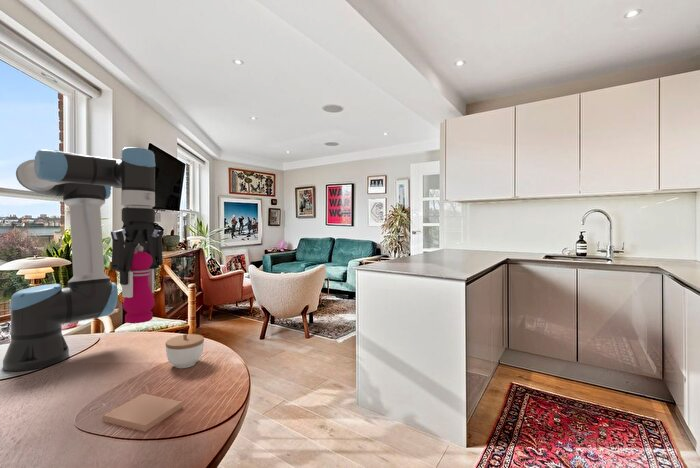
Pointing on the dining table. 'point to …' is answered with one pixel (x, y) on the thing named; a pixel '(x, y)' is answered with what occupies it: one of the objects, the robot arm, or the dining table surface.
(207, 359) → the dining table surface
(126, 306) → the pepper mill
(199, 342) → the lidded jar
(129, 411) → the tile
